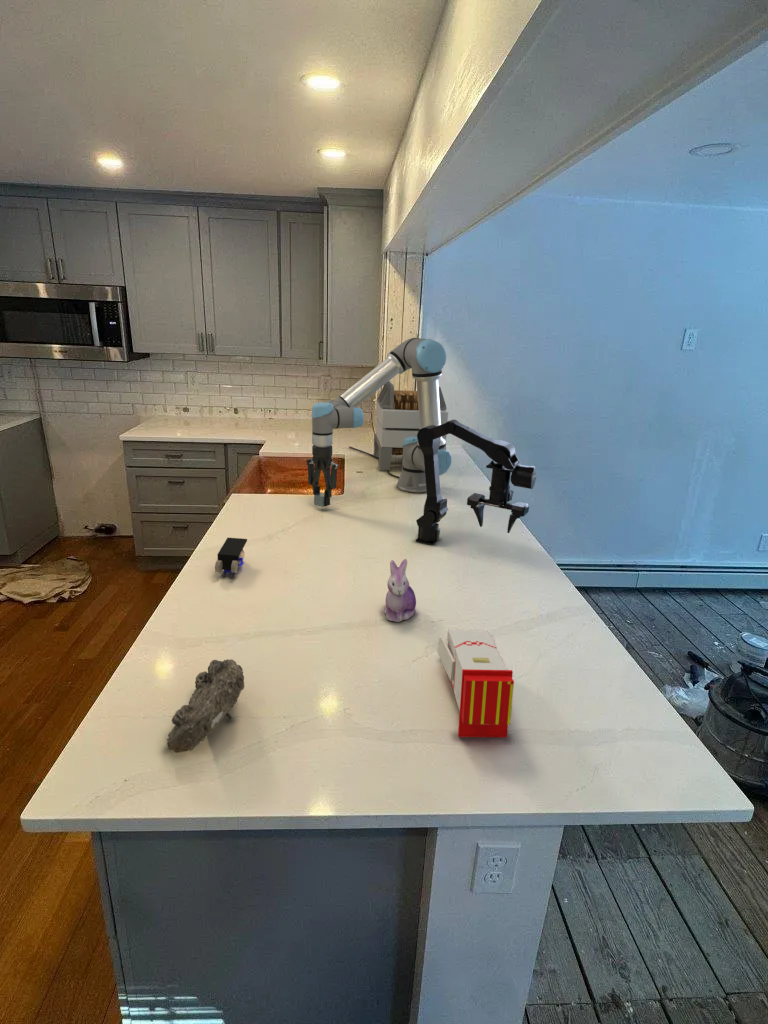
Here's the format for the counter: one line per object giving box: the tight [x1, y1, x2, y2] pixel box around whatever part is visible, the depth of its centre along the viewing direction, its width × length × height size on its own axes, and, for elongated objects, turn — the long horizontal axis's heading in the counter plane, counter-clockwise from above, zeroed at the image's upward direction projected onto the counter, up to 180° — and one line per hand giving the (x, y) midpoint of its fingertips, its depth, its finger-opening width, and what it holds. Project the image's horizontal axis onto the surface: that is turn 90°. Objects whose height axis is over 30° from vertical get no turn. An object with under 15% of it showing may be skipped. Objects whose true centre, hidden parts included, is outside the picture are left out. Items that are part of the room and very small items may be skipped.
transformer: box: [372, 380, 449, 472], centre depth 285 cm, size 34×33×41 cm
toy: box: [437, 628, 515, 738], centre depth 117 cm, size 12×13×30 cm
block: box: [314, 491, 326, 508], centre depth 219 cm, size 4×4×4 cm
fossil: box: [166, 658, 245, 754], centre depth 106 cm, size 22×10×15 cm
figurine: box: [384, 558, 417, 623], centre depth 145 cm, size 9×10×15 cm
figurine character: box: [214, 537, 248, 578], centre depth 166 cm, size 7×8×15 cm
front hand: (494, 529), depth 182 cm, fingers open, 9 cm apart
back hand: (322, 504), depth 219 cm, fingers closed on block, 4 cm apart
